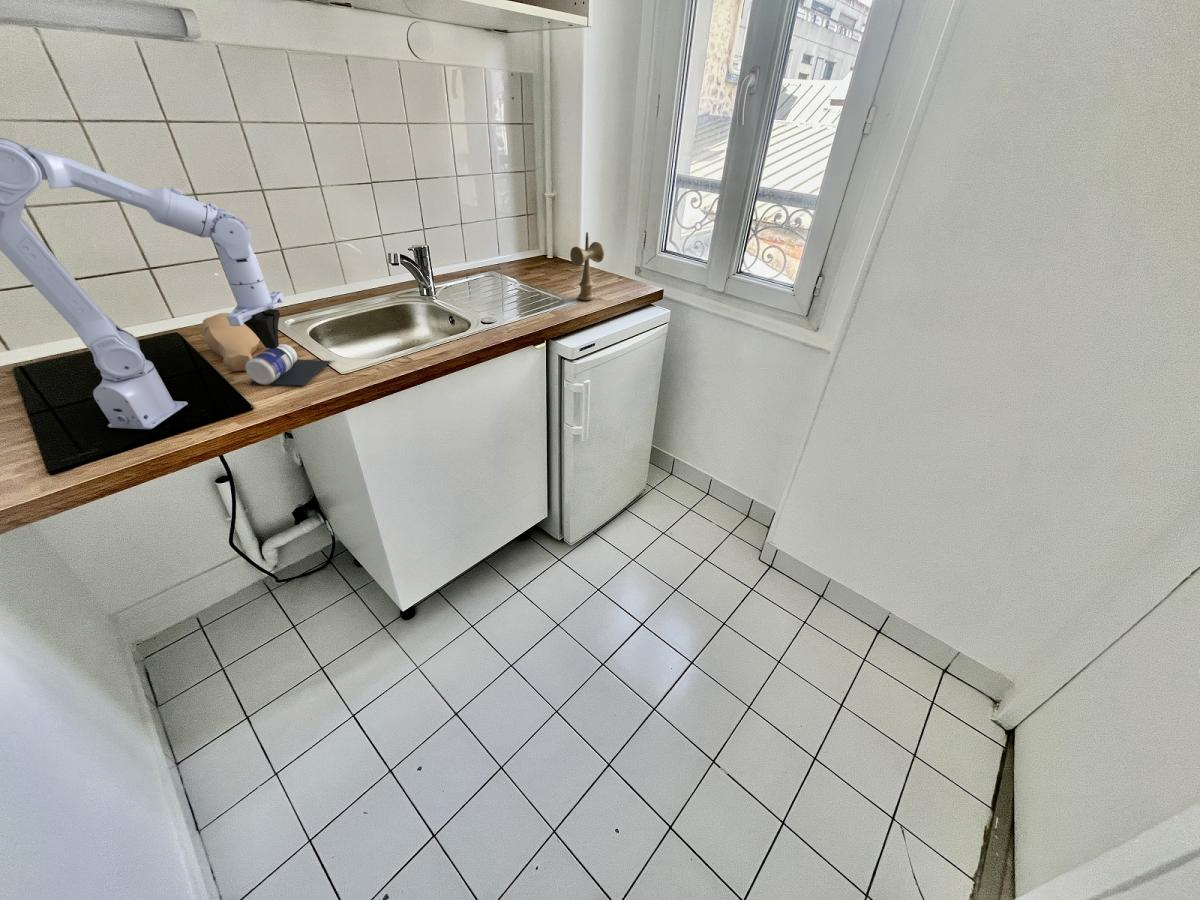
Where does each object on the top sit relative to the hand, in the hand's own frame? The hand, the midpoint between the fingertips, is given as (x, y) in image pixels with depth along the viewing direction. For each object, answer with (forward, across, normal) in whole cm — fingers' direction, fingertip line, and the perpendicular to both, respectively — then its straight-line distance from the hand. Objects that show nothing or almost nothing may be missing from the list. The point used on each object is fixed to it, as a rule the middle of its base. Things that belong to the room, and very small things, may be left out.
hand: (272, 347), depth 101 cm
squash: (+8, +10, +16) cm, 20 cm away
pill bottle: (+4, -4, +2) cm, 6 cm away
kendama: (+8, +62, -62) cm, 88 cm away
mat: (+7, +3, 0) cm, 8 cm away
